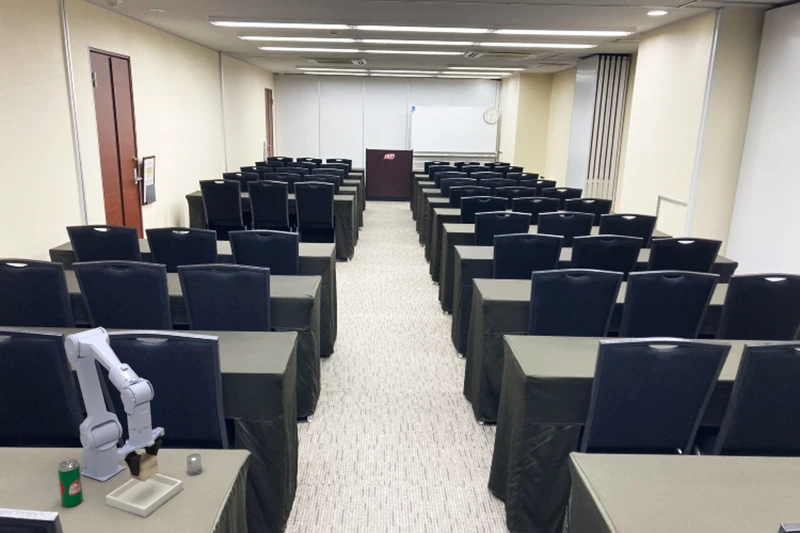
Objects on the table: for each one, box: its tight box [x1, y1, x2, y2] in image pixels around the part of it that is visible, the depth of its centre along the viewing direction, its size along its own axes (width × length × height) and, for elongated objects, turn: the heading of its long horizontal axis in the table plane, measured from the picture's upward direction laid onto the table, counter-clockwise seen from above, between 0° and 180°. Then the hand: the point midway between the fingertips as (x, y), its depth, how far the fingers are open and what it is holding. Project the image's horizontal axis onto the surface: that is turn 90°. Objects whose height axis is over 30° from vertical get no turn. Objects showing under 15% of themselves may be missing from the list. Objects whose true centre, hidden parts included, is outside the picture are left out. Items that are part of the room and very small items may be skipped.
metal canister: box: [186, 453, 202, 477], centre depth 169 cm, size 4×4×5 cm
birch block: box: [129, 451, 159, 482], centre depth 155 cm, size 5×5×5 cm
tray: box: [104, 472, 184, 519], centre depth 157 cm, size 14×14×2 cm
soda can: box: [57, 458, 84, 508], centre depth 152 cm, size 5×5×12 cm
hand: (143, 469), depth 155 cm, fingers closed on birch block, 5 cm apart
